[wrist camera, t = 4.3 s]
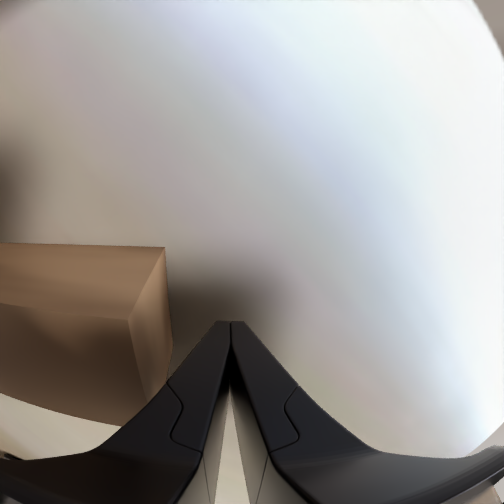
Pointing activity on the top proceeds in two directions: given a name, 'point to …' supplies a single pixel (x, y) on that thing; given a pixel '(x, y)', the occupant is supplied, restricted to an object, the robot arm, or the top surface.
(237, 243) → the top surface
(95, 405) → the plug rod
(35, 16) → the top surface
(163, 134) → the top surface
